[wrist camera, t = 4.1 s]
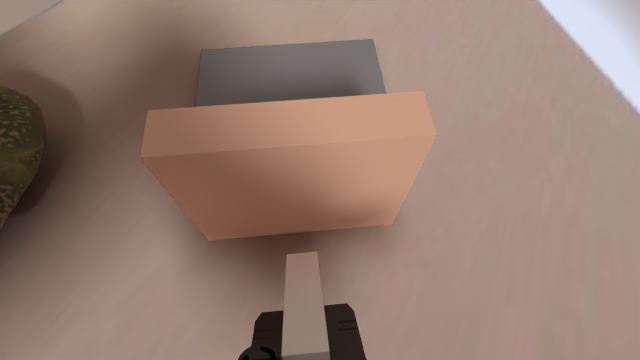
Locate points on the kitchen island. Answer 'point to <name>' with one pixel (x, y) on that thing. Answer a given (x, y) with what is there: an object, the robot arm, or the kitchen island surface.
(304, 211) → the tile
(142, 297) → the kitchen island surface
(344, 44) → the mat
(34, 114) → the decorative rock
